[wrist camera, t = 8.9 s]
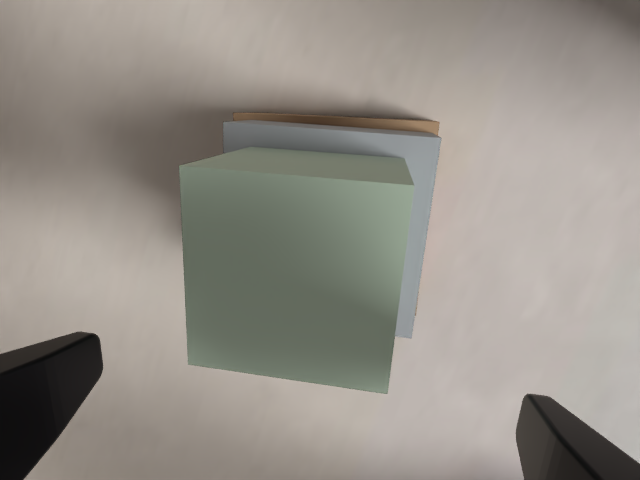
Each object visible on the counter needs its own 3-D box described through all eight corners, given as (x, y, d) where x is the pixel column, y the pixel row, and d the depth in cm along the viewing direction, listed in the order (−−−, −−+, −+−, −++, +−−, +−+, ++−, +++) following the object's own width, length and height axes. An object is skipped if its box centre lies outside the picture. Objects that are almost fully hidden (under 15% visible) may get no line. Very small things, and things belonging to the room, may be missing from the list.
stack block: (404, 158, 13) (414, 185, 8) (387, 302, 15) (387, 394, 10) (250, 146, 14) (179, 165, 9) (249, 285, 15) (187, 364, 10)
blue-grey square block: (432, 132, 15) (441, 137, 13) (408, 301, 18) (411, 338, 15) (252, 119, 16) (223, 121, 14) (250, 281, 19) (225, 312, 16)
